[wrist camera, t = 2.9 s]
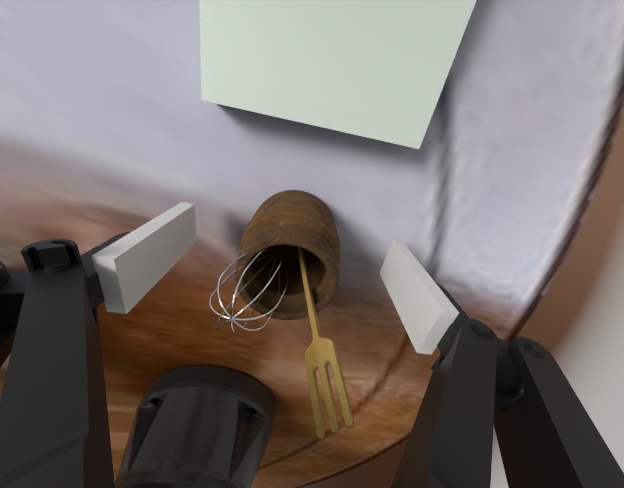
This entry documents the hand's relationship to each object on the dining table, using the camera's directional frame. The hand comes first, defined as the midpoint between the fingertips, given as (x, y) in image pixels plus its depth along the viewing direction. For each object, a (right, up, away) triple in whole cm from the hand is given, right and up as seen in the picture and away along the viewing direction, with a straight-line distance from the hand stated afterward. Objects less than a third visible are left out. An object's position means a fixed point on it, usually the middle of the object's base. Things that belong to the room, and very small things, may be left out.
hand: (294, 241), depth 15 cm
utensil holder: (0, +1, +2) cm, 2 cm away
